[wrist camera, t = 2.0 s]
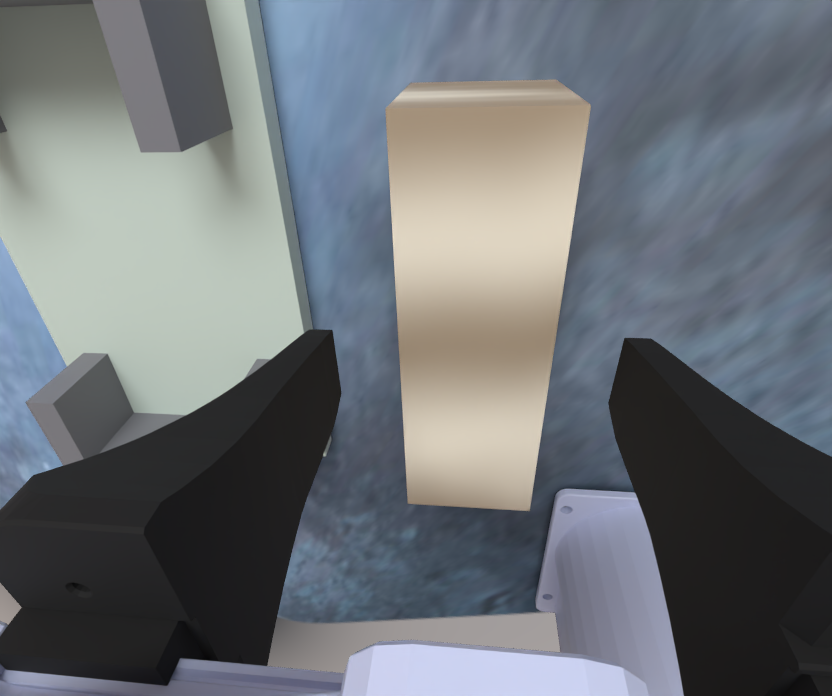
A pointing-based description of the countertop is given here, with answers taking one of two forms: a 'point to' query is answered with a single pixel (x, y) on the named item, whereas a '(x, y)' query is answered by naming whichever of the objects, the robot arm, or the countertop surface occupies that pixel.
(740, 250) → the countertop surface
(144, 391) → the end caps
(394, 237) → the slat
